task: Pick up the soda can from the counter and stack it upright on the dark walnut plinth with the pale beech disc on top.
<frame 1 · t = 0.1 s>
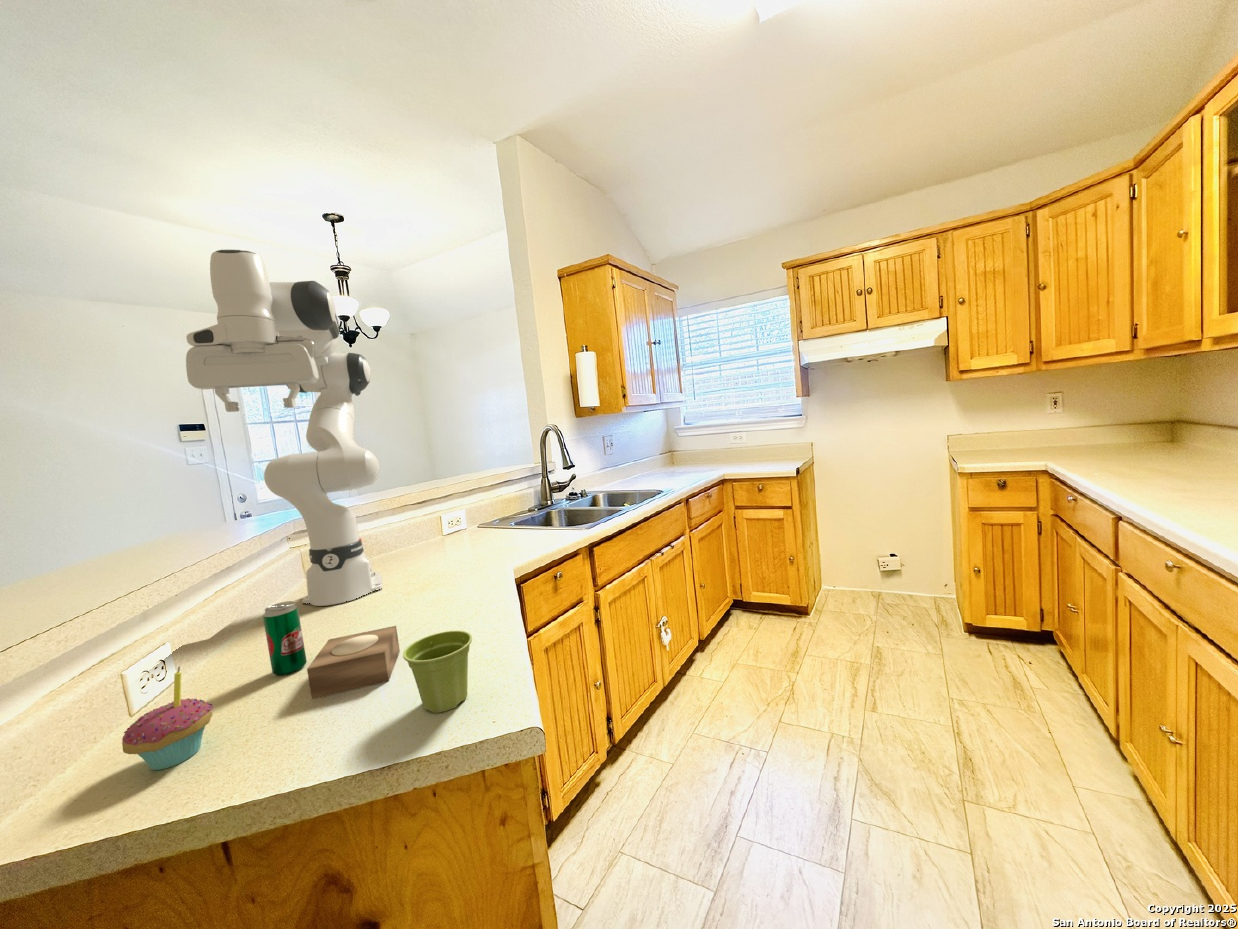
hand: (262, 409, 88), 48 cm above the table, fingers open, 8 cm apart
cupcake: (175, 759, 60), on the table
plinth: (359, 673, 78), on the table
soda can: (290, 671, 82), on the table
plant pot: (446, 702, 67), on the table
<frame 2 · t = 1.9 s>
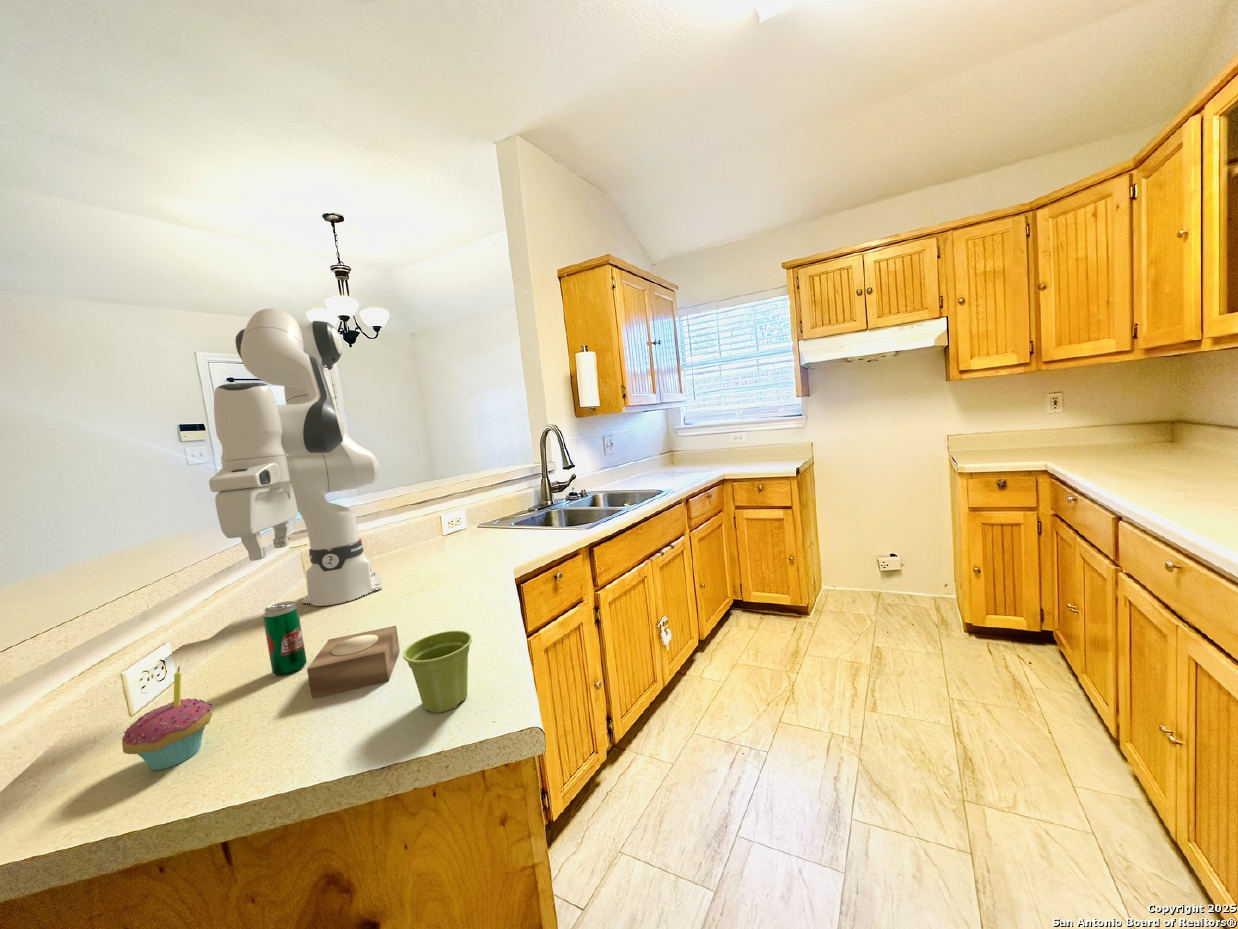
hand: (270, 553, 80), 22 cm above the table, fingers open, 8 cm apart
nothing on the table moved.
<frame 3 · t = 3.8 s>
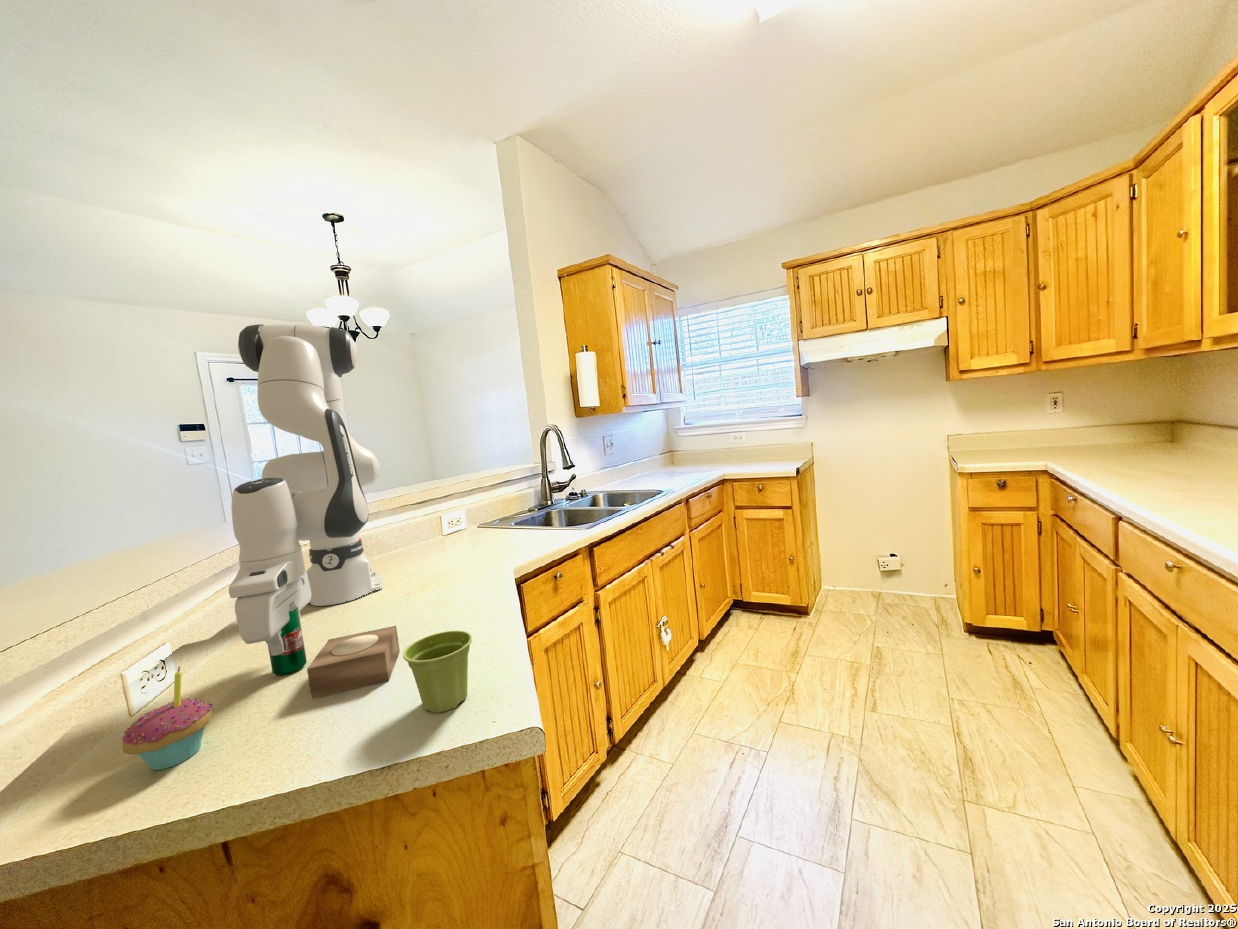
hand: (286, 645, 81), 5 cm above the table, fingers closed on soda can, 5 cm apart
soda can: (290, 671, 82), on the table, touching gripper
everything else where it was.
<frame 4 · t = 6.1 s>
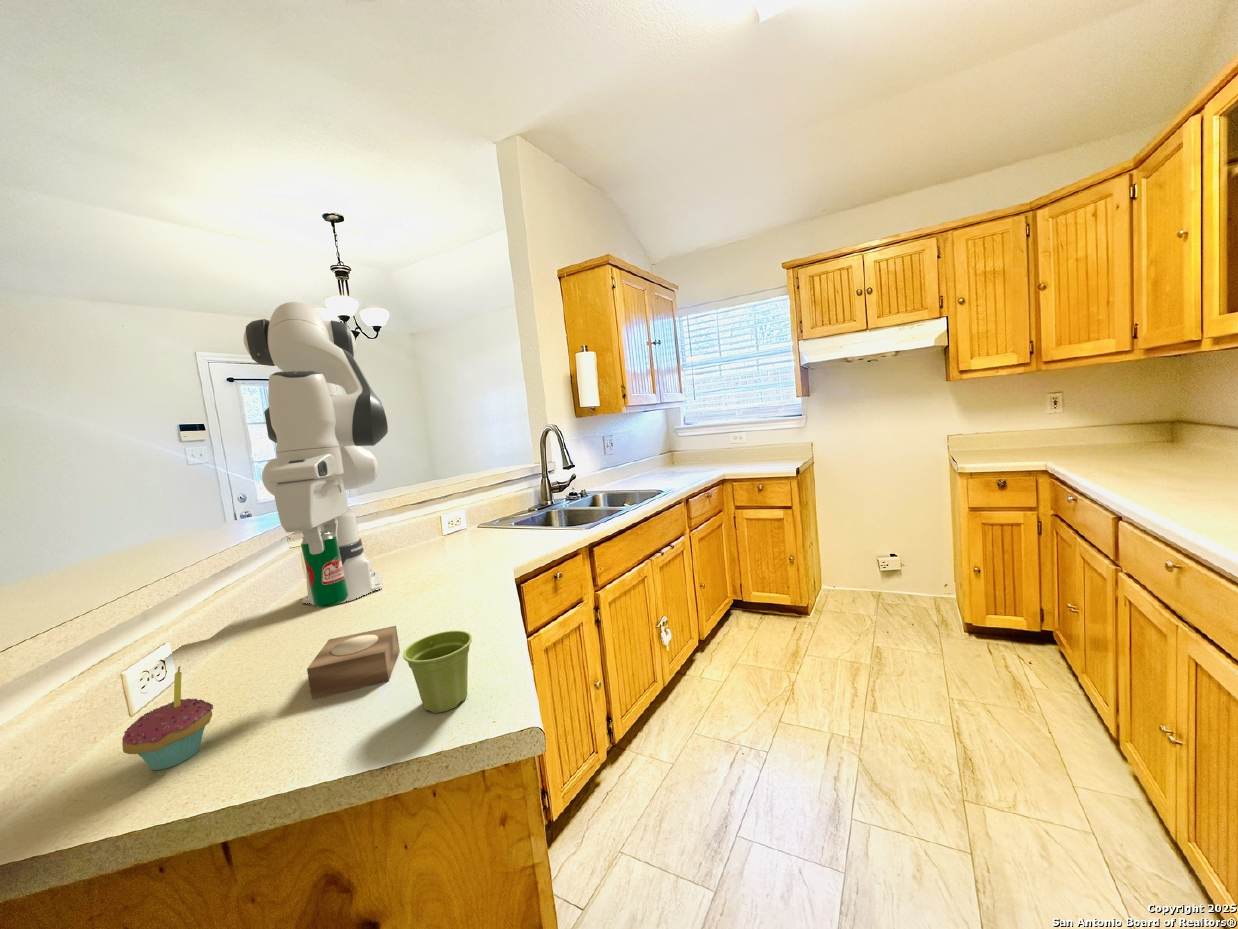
hand: (324, 548, 76), 22 cm above the table, fingers closed on soda can, 5 cm apart
soda can: (332, 604, 77), point 13 cm above the table, touching gripper
everything else where it was.
when the fingers open (12 cm above the table, at t = 8.0 s): soda can stays where it is, resting on plinth.
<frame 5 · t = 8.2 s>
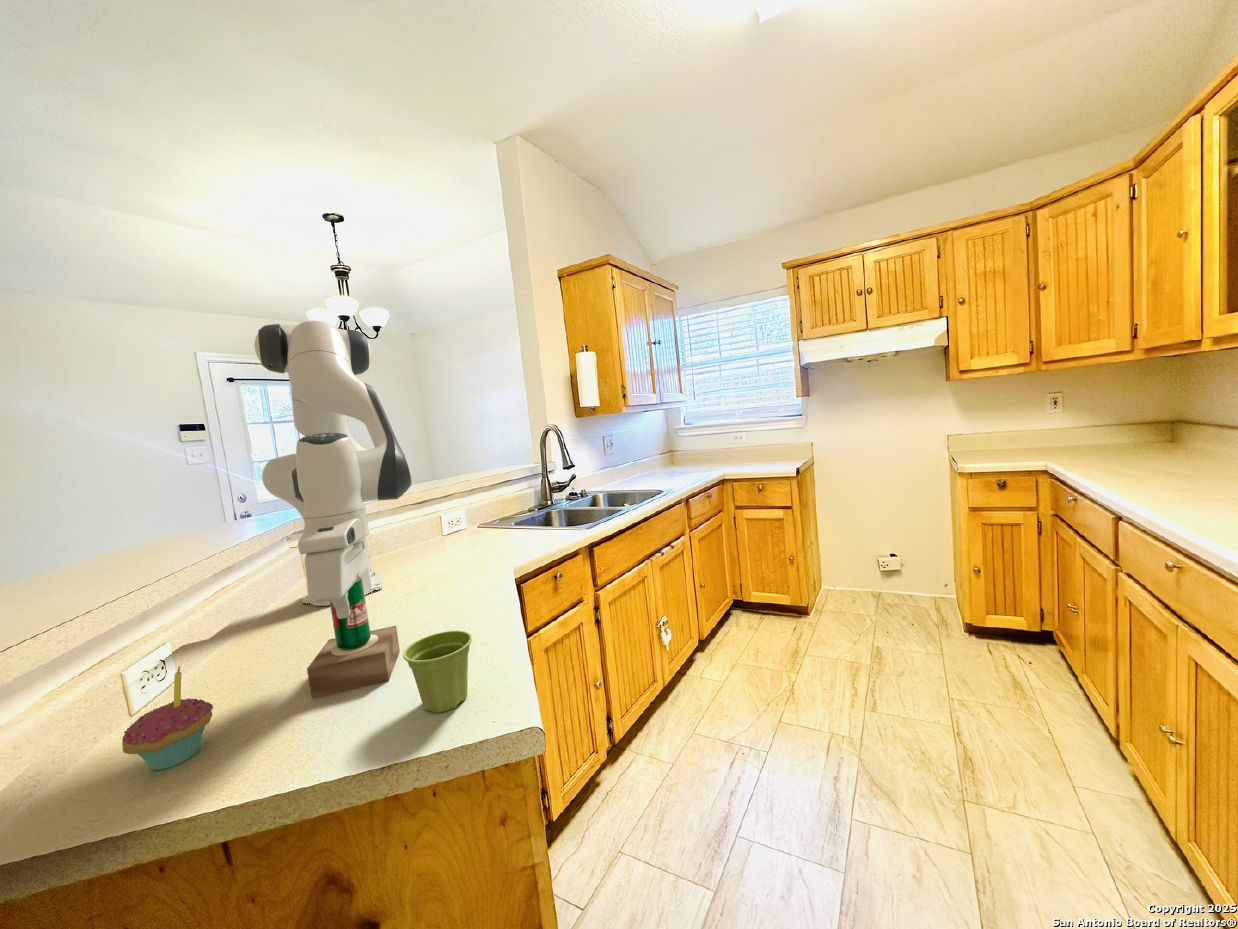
hand: (350, 609, 77), 11 cm above the table, fingers open, 5 cm apart
soda can: (354, 645, 77), point 5 cm above the table, touching gripper, plinth
everything else where it was.
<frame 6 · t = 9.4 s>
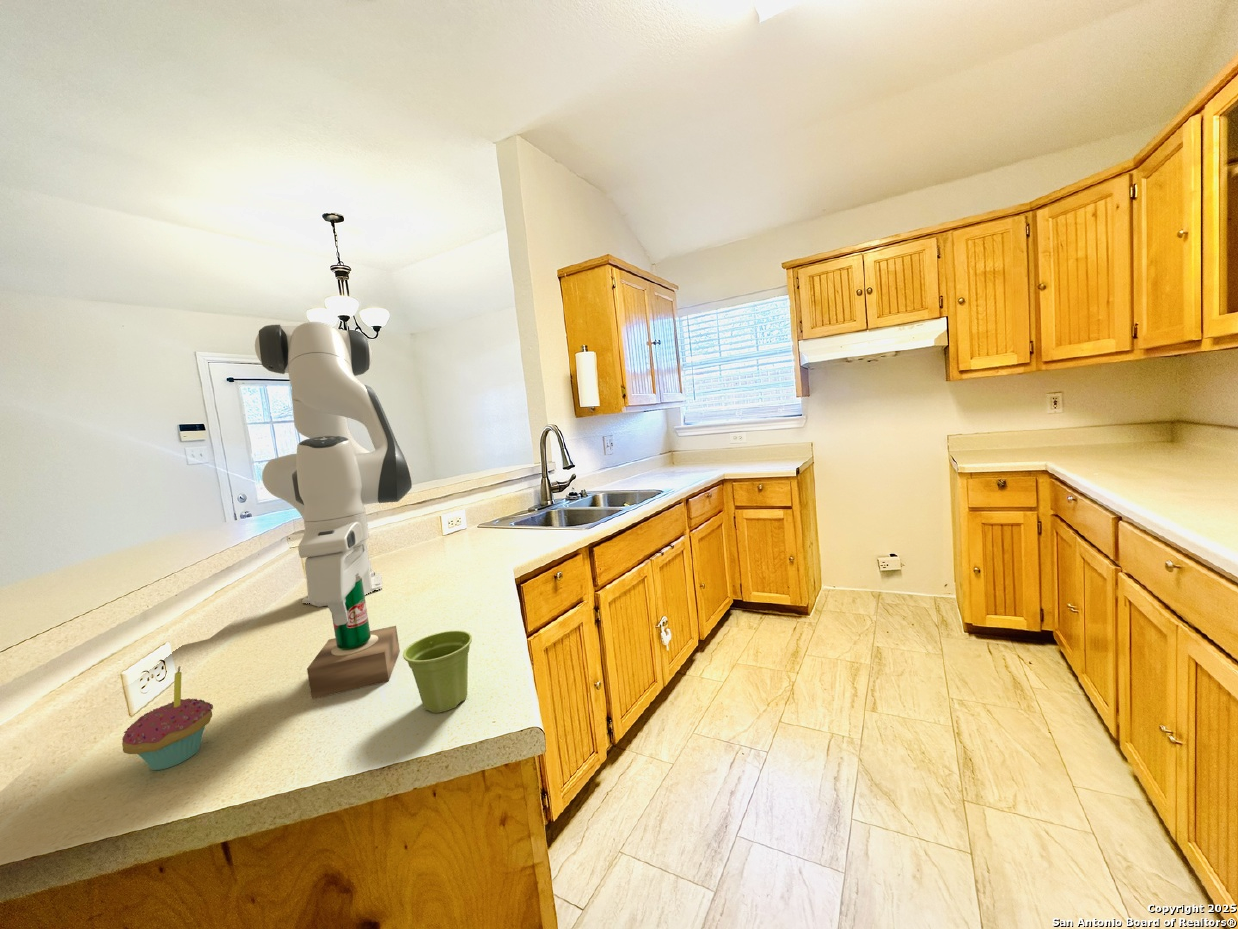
hand: (350, 612, 77), 11 cm above the table, fingers open, 8 cm apart
soda can: (354, 645, 77), point 5 cm above the table, touching plinth
everything else where it was.
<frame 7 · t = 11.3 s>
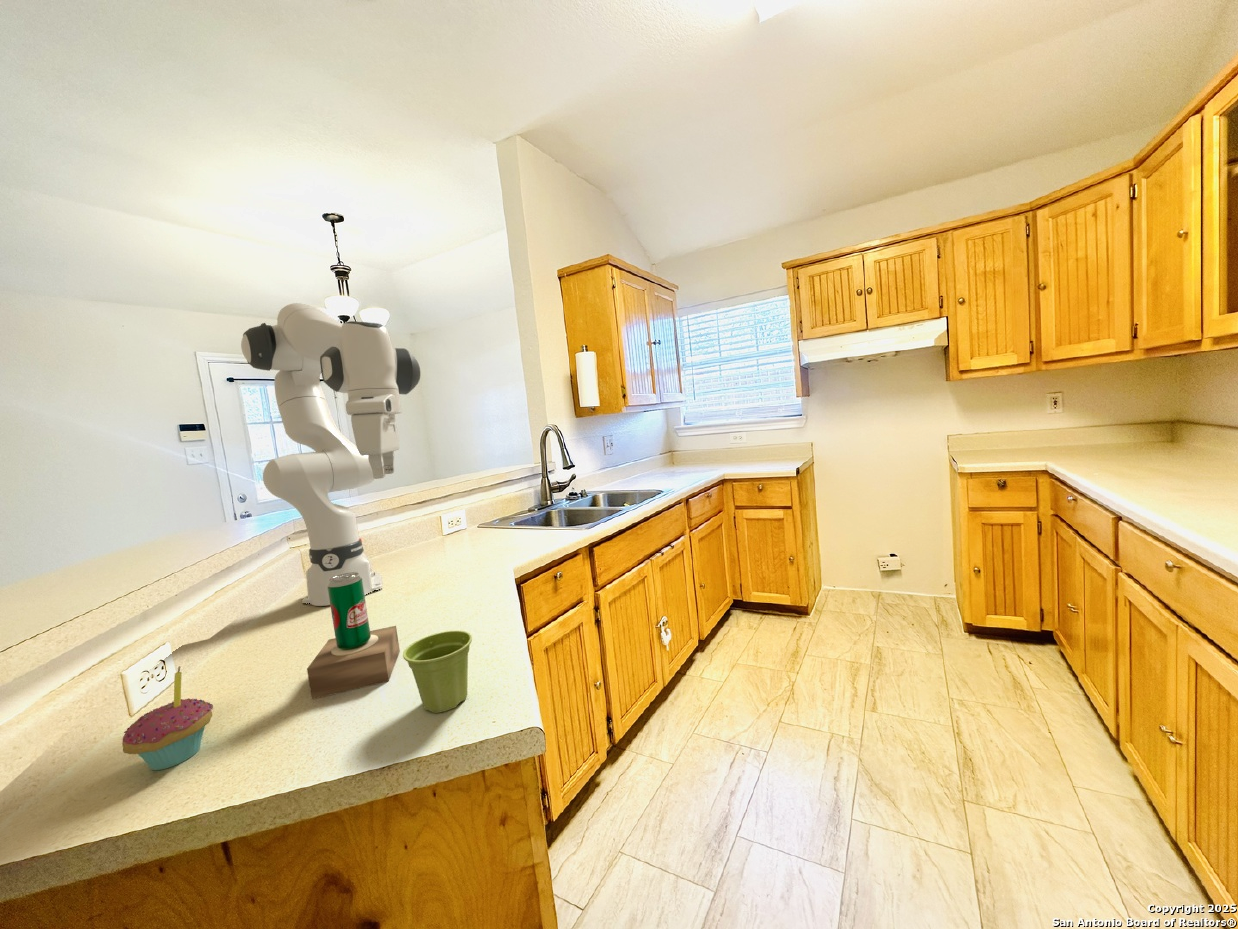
hand: (384, 475, 90), 33 cm above the table, fingers open, 8 cm apart
nothing on the table moved.
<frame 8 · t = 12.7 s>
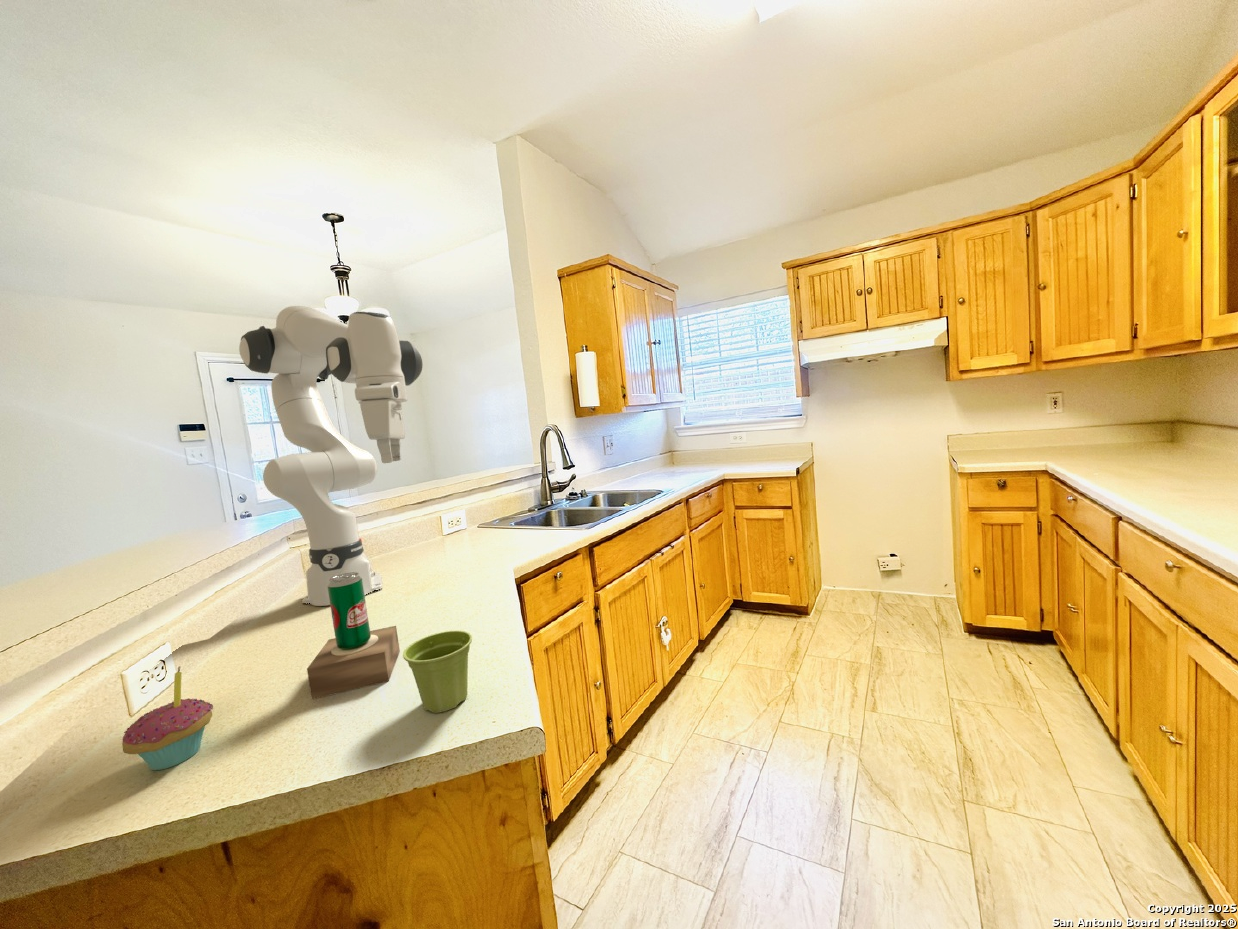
hand: (392, 461, 92), 35 cm above the table, fingers open, 8 cm apart
nothing on the table moved.
at the end: soda can 0.1 cm from the plinth (horizontally); soda can touching plinth; soda can tilted 0° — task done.
